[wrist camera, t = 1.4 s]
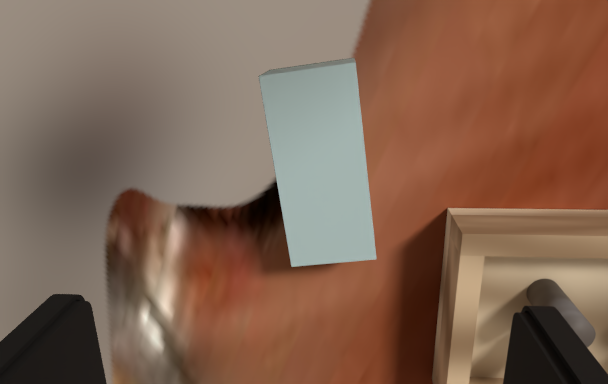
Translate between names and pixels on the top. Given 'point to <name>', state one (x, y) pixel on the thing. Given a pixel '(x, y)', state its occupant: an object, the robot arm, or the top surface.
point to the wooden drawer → (517, 284)
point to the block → (320, 161)
